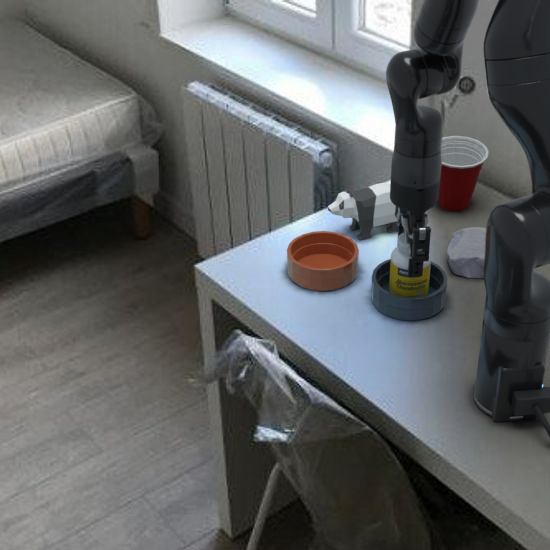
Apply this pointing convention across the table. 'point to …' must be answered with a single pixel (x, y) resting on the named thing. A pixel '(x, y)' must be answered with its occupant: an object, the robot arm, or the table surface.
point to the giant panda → (366, 209)
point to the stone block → (467, 252)
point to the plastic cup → (459, 171)
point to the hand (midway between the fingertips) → (409, 260)
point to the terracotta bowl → (322, 260)
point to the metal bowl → (408, 305)
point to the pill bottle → (399, 273)
